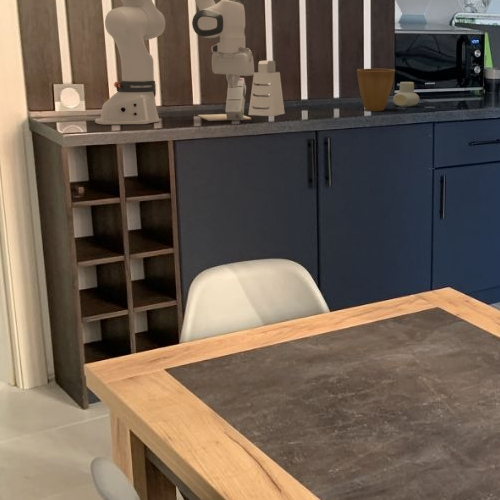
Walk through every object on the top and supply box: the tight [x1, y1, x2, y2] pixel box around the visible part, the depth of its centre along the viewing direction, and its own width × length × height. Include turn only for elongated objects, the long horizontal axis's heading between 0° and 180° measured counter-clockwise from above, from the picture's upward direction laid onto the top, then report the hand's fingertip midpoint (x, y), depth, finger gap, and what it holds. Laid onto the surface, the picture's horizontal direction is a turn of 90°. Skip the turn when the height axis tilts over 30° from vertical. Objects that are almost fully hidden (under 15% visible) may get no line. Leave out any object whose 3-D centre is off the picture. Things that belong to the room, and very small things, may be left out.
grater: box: [247, 60, 286, 117], centre depth 317 cm, size 10×10×20 cm
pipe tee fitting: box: [392, 81, 420, 108], centre depth 349 cm, size 11×8×10 cm
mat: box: [197, 113, 252, 122], centre depth 306 cm, size 16×16×1 cm
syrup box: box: [224, 77, 247, 121], centre depth 297 cm, size 6×6×14 cm
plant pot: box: [356, 68, 396, 112], centre depth 332 cm, size 15×15×16 cm
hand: (232, 88), depth 292 cm, fingers closed
